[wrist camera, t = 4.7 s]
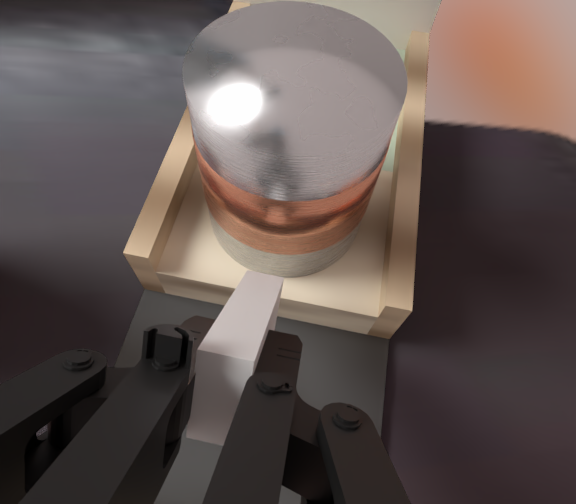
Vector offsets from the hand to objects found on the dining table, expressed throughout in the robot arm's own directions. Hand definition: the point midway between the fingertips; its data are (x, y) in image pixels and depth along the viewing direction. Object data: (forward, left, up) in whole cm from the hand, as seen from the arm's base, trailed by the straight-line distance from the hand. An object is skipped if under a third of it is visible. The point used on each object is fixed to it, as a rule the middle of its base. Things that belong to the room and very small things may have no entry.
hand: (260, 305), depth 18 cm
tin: (-6, +2, -3) cm, 7 cm away
